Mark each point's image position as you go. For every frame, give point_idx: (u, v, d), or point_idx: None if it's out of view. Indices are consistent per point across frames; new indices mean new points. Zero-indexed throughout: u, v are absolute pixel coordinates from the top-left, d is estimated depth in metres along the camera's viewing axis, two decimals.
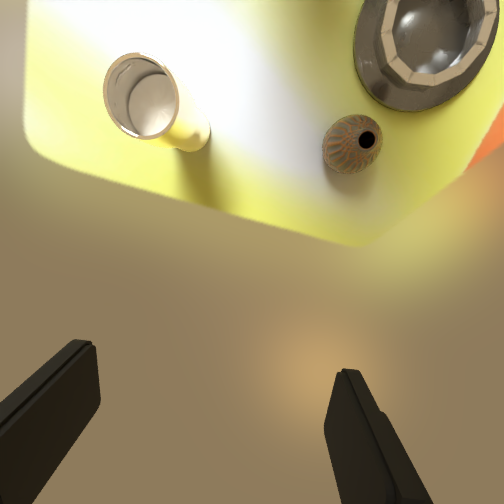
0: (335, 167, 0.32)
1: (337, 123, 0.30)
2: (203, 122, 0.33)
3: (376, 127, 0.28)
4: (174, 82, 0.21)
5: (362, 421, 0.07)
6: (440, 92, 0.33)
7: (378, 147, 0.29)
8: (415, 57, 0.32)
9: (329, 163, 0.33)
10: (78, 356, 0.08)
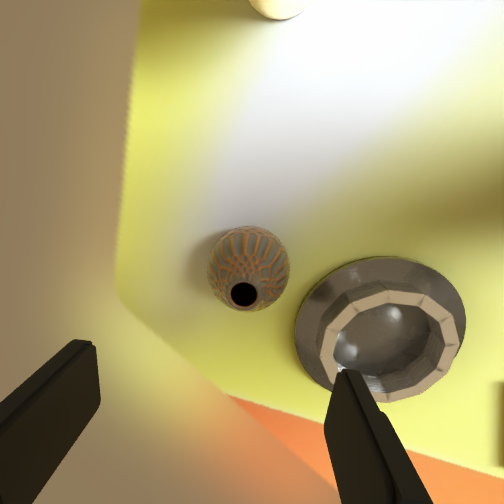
0: (213, 248, 0.20)
1: (277, 245, 0.19)
2: None
3: (266, 303, 0.19)
4: None
5: (362, 421, 0.07)
6: (313, 360, 0.27)
7: (238, 309, 0.19)
8: (353, 329, 0.26)
9: (220, 238, 0.20)
10: (78, 356, 0.08)
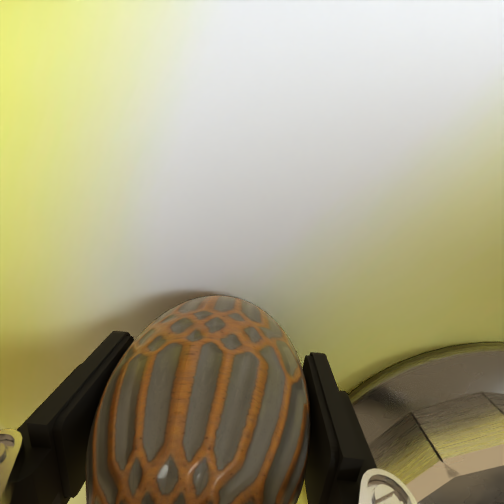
0: (111, 374, 0.08)
1: (280, 375, 0.07)
2: None
3: None
4: None
5: (320, 396, 0.08)
6: None
7: None
8: None
9: (134, 343, 0.08)
10: (120, 346, 0.09)
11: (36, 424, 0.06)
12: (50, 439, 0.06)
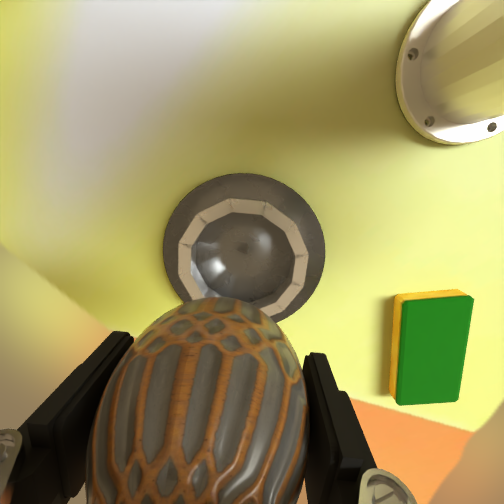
0: (111, 376, 0.08)
1: (280, 377, 0.07)
2: None
3: None
4: None
5: (320, 396, 0.08)
6: None
7: None
8: (218, 251, 0.26)
9: (134, 345, 0.08)
10: (120, 346, 0.09)
11: (36, 424, 0.06)
12: (50, 439, 0.06)
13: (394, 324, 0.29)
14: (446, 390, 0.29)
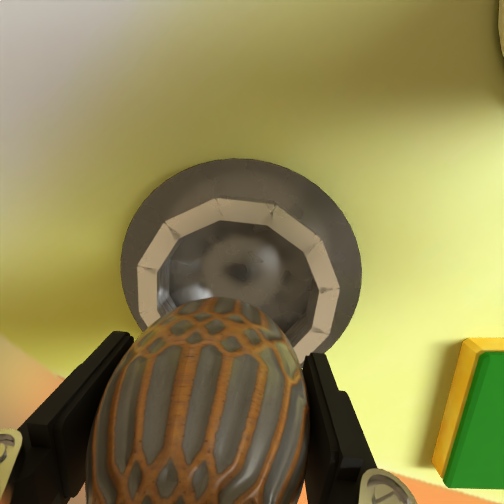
0: (111, 376, 0.08)
1: (280, 377, 0.07)
2: None
3: None
4: None
5: (320, 396, 0.08)
6: None
7: None
8: (202, 275, 0.18)
9: (134, 345, 0.08)
10: (120, 346, 0.09)
11: (36, 424, 0.06)
12: (50, 439, 0.06)
13: (456, 379, 0.20)
14: None
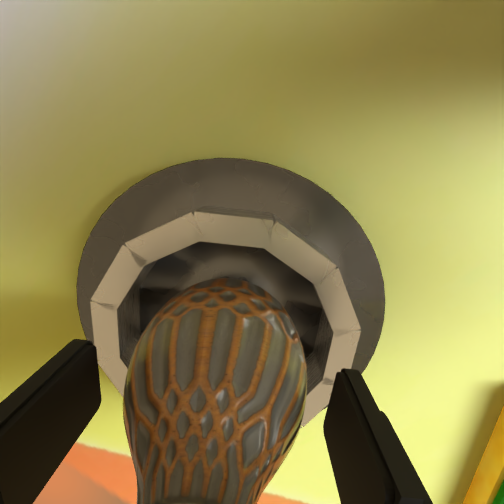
0: (140, 338, 0.09)
1: (282, 336, 0.09)
2: None
3: None
4: None
5: (361, 421, 0.07)
6: None
7: None
8: None
9: (158, 313, 0.09)
10: (79, 356, 0.08)
11: None
12: None
13: (501, 426, 0.16)
14: None
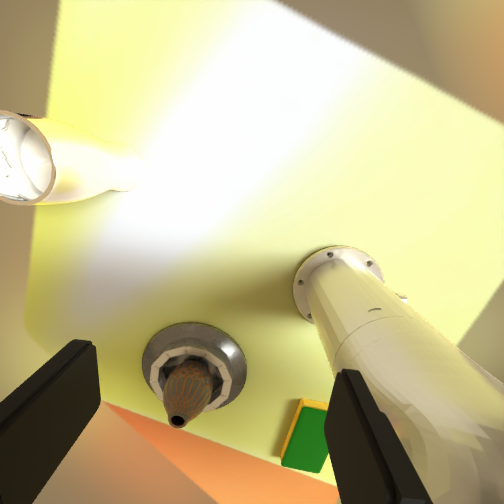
0: (168, 381, 0.35)
1: (203, 384, 0.35)
2: (114, 189, 0.31)
3: None
4: (32, 203, 0.19)
5: (362, 421, 0.07)
6: None
7: (177, 420, 0.34)
8: None
9: (173, 374, 0.36)
10: (78, 356, 0.08)
11: None
12: None
13: (295, 415, 0.43)
14: (313, 465, 0.44)
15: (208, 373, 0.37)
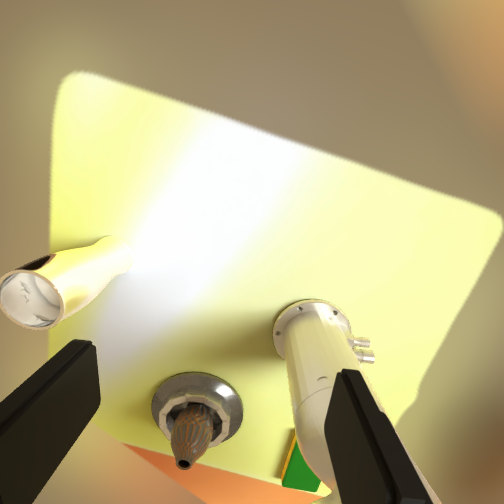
0: (173, 427, 0.41)
1: (203, 428, 0.41)
2: None
3: (197, 459, 0.40)
4: (48, 327, 0.25)
5: (362, 421, 0.07)
6: None
7: (184, 461, 0.40)
8: (182, 409, 0.46)
9: (177, 421, 0.42)
10: (78, 356, 0.08)
11: None
12: None
13: (292, 441, 0.48)
14: (311, 485, 0.49)
15: (208, 416, 0.43)
